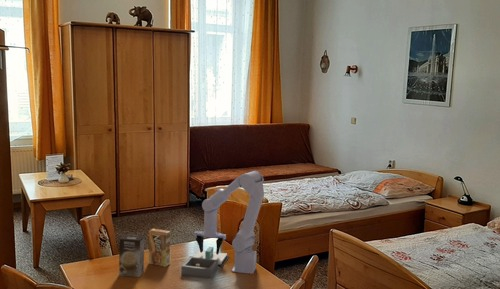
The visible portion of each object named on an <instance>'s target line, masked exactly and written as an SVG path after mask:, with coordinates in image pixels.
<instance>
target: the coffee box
mask: <svg viewBox="0 0 500 289" xmlns="http://www.w3.org/2000/svg"><path fill="white" fill-rule="evenodd" d="M118 244H119V250H118V252H119V253H118V254H119V259H118V260H119V262H118V268H119V270H118V276H121V277H122V276H123V277H133V278H134V277H135V278H140V277H141V276H142V274H143V273H144V271H145V235H141V234H140V235H139V234H137V235H136V234H129V233H124V234H123V235H122V236H121V237H120V238H119V243H118Z"/></svg>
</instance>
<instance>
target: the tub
mask: <svg viewBox="0 0 500 289" xmlns="http://www.w3.org/2000/svg"><path fill="white" fill-rule="evenodd" d="M180 268H181V272H180V273H181V274H180V275H181V276H185V277H186V276H187V277H194V278H200V279H208V280H212V278H213V276H214V275H215V274H216V272H217V271H218V269H219V267H218V260H213V259H205V258H197V257H193V256H189V258H187V259H186V260H185V262H183V263H182V265H181V267H180Z"/></svg>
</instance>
